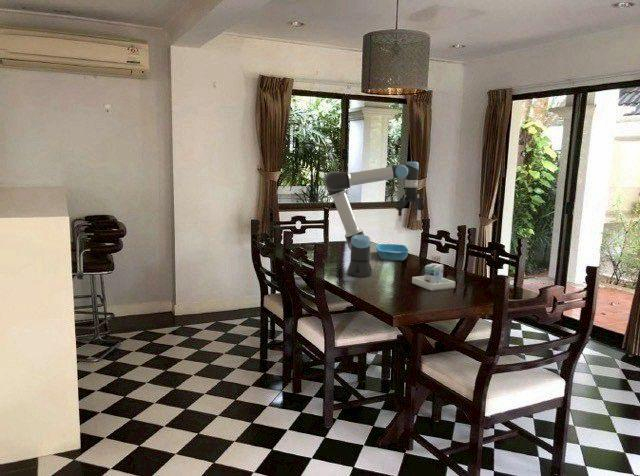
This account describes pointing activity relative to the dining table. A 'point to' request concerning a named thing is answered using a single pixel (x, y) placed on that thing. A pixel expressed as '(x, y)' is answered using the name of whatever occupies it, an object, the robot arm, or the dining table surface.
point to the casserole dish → (392, 251)
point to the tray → (439, 286)
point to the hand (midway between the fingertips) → (409, 220)
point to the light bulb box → (433, 273)
